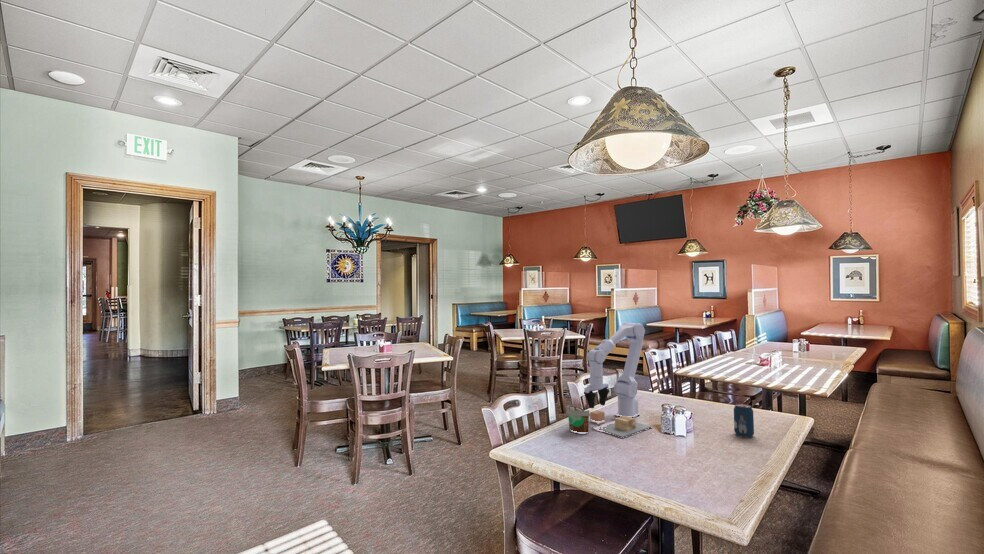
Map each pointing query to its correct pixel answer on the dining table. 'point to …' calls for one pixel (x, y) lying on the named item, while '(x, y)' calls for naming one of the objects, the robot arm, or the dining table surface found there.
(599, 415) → the terracotta block
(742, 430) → the soda can
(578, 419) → the food container
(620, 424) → the oak base block
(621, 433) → the slate board
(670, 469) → the dining table surface
